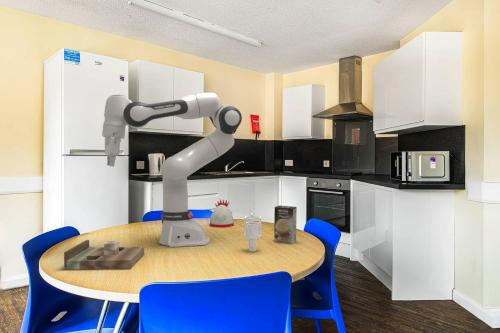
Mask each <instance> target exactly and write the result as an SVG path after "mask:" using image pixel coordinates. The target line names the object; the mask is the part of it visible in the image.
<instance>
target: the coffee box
mask: <svg viewBox="0 0 500 333" xmlns="http://www.w3.org/2000/svg"><path fill="white" fill-rule="evenodd" d="M297 210H298V209H297V206H291V205H290V206H289V205H277V206H275V207H274V219H273V220H274V222H273V223H274V226H273V227H274V228H273V232H274V233H273V234H274V235H273V242H275V243H280V244H281V243H283V244H291V245H293V244H294V243H296V242H297V214H298V213H297Z"/></svg>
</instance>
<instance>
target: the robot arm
mask: <svg viewBox="0 0 500 333" xmlns="http://www.w3.org/2000/svg"><path fill="white" fill-rule="evenodd" d="M104 106H105V107H104V111H103V112H104V113H103V116H104V121H103V124H102V132H101V133H102V134H101V136H102V137H103V138H104V154H105V155H106V158H107V159H106V161H107V162H106V166H109V167H112V168H113V167H115V163H116V158H117V157H118V156H119V155H120V151H121V150H120V147H121V143H122V139H125V136H126V126H127V127H131V128H133V129H143V128H145V127H146V126H147V125H148V124H149V122H151V121H153V120H158V119H163V118H169V117H178V118H180V119H182V120H196V119H200V118H201V119H202V118H206V117H209V119H210V121H211V124H212V126H214V128H216V129H215V130H214V131H213V132H212V133H210V134H208V135H207V136H205V137H203V138H202V139H200V140H198V141H196V142H194V143H193V144H191V145H189V146H188V147H186V148H184V149H182V150H181V151H179V152H177V153H176V154H173V155H172V156H169V157H167V158H166V159H165V161H163V164H162V211H161V224H162V225H161V233H160V234H161V235H160V238H159V242H158V243H159V244H160V245H163V246H167V247H170V248H175V247H176V248H177V247H193V246H195V247H196V246H197V247H198V246H206V245H208V244H209V243H210V237H209V236H207V235H206V234H205V229H204V226H203V225H201V224H200V223H198V222H197V221H196V220H195V219H193V216H194V214H193V212H192V211H190V210H189V206H188V205H189V192H188V191H189V190H188V177H189V176H191V175H192V174H193V173H194V174H195V172H197V171H198V170H200V169H201V168H203V167H204V166H206V165H207V164H209V163H211V162H212V161H214V160H216V159H218V158H219V157H221V156H222V155H224V154H225V153H227V152H228V151H229V150H230V149H232V148H233V146H234V145H235V138H234V136H233V134H235V133H236V132H237V130H238V129H239V127H240V125H241V124H242V120H243V114H242V112H241V111H240V110H239V109H238V108H237V107H235V106H232V105H229V106H224V105H222V103H221V100H220V98H219V96H218V95H217V93H216V92H215V93H214V92H196V93H191V94H186V95H183V96H180V97H178V98H175V99H172V100H168V101H162V102H156V103H154V102H153V103H145V102H142V101H132V100H130V99H129V98H128V97H127V96H126V95H124V94H123V95H122V94H113V95H109V96H108V97H107V99H106V101H105V104H104Z"/></svg>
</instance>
